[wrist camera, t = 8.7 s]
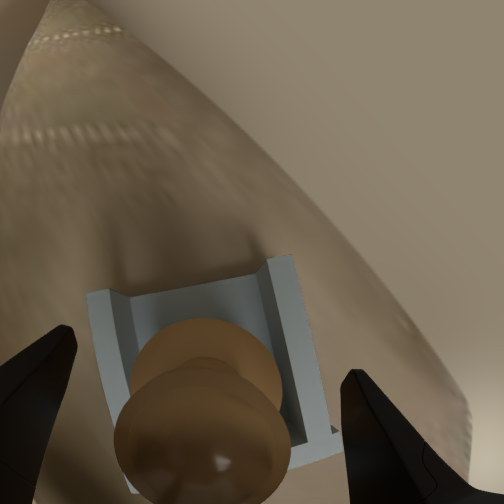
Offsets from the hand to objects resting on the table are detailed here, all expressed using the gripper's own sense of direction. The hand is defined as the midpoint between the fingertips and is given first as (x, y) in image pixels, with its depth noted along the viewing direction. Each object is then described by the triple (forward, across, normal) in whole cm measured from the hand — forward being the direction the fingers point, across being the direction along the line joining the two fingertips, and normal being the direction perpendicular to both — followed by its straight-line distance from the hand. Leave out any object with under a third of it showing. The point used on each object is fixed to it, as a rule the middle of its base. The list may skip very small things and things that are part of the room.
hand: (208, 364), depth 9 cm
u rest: (+8, 0, +10) cm, 13 cm away
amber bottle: (+7, 0, +9) cm, 12 cm away
